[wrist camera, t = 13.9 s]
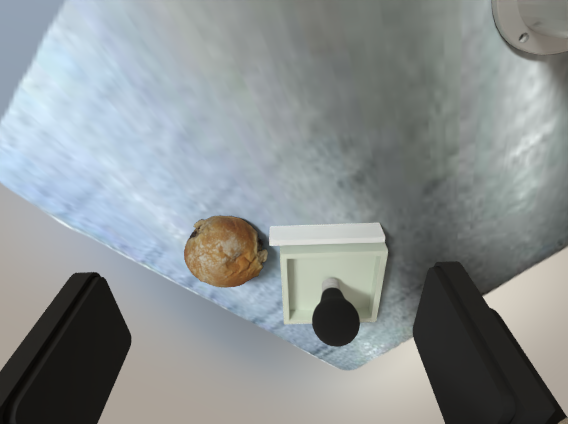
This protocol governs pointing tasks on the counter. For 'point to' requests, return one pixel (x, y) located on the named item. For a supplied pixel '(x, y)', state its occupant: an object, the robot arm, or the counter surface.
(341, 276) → the dish
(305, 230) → the white flat bar
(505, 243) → the counter surface
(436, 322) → the robot arm
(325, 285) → the light bulb
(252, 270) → the bread roll
